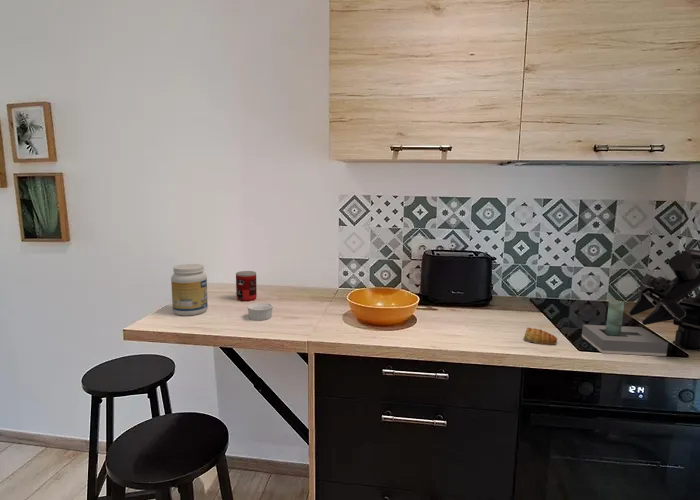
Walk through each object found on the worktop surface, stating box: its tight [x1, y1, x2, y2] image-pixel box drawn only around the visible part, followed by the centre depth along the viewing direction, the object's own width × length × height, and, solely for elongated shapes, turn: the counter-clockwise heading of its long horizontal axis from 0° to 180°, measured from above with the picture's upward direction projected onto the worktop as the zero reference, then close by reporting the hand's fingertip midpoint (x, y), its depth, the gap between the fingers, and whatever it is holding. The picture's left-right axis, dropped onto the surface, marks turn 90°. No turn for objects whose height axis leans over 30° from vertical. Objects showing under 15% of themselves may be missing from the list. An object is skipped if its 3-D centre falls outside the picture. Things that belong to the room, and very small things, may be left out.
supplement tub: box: [170, 263, 209, 317], centre depth 163 cm, size 12×12×17 cm
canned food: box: [235, 270, 258, 303], centre depth 181 cm, size 8×8×11 cm
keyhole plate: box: [581, 324, 669, 357], centre depth 138 cm, size 18×14×4 cm
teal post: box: [605, 299, 625, 336], centre depth 137 cm, size 4×4×13 cm
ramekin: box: [246, 302, 274, 322], centre depth 159 cm, size 9×9×4 cm
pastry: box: [523, 327, 558, 346], centre depth 141 cm, size 9×7×4 cm
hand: (636, 318), depth 136 cm, fingers open, 9 cm apart
